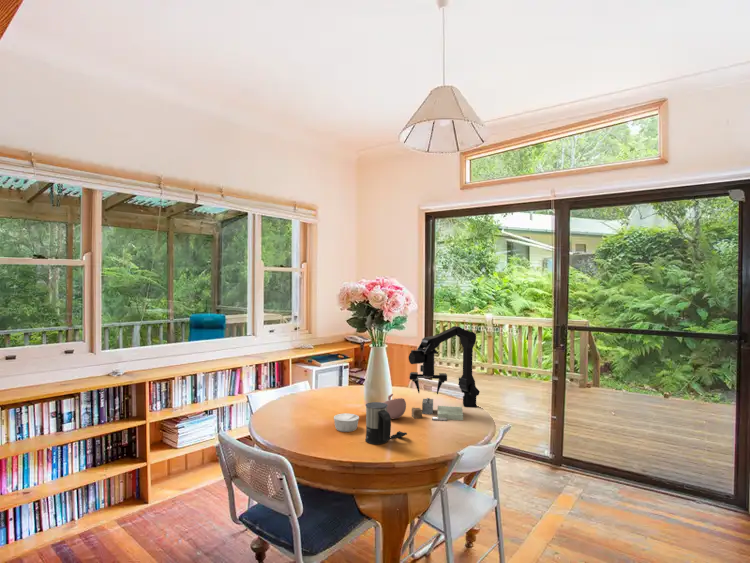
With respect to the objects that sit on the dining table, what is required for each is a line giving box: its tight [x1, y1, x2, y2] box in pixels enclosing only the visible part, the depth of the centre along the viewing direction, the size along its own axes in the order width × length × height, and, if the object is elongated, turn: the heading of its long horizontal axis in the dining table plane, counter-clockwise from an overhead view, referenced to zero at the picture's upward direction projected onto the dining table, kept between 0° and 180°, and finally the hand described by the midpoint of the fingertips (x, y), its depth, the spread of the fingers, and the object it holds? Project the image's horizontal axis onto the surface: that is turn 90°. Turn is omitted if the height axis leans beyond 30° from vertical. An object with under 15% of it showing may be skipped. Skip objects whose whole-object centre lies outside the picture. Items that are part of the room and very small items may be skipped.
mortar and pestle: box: [382, 393, 407, 420], centre depth 214 cm, size 12×12×12 cm
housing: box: [421, 397, 434, 415], centre depth 225 cm, size 5×8×6 cm, turn 171°
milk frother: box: [364, 401, 408, 445], centre depth 184 cm, size 14×16×15 cm
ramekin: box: [333, 412, 360, 433], centre depth 198 cm, size 11×11×5 cm
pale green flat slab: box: [437, 405, 464, 421], centre depth 220 cm, size 12×14×3 cm
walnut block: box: [411, 407, 423, 420], centre depth 216 cm, size 4×4×4 cm
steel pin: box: [431, 416, 448, 422], centre depth 212 cm, size 7×2×2 cm, turn 81°
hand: (428, 393), depth 226 cm, fingers open, 9 cm apart
